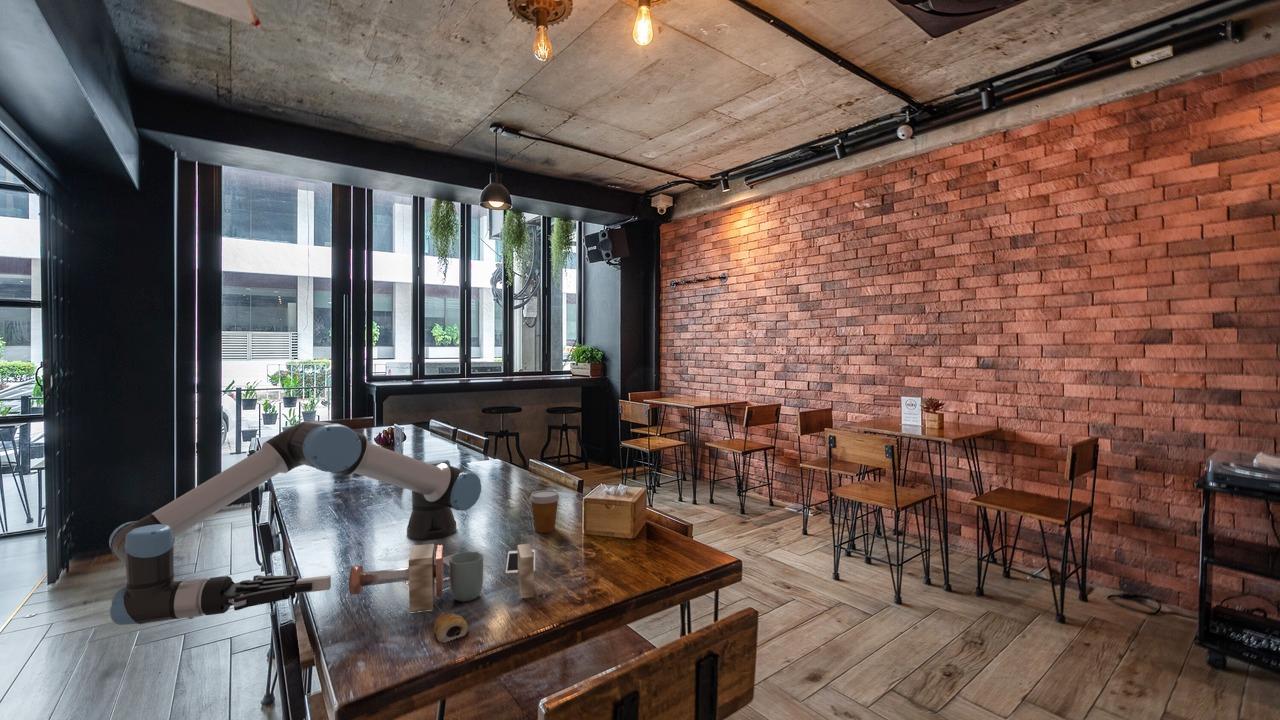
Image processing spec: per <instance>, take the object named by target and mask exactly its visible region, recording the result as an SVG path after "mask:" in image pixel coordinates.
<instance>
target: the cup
mask: <svg viewBox="0 0 1280 720" xmlns="http://www.w3.org/2000/svg"><path fill="white" fill-rule="evenodd" d="M454 554H455V555H453V554H452V555H453V556H451V557H450V560H449V567H448V568H449V569H448V570H449V573H448V574H449V577H450V580H449V586H450V591H451V594H452V597H453V599H455V600H456V601H458V602H461V603H464V602H465V603H467V602H471V601H473V600H475V599H477V598H478V597H480V595H481V593H482V589H483V584H484V557H483V554H482V553H481V552H479V551H474V550H469V551H462V552H458V553H454Z"/></svg>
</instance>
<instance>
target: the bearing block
mask: <svg viewBox="0 0 1280 720" xmlns="http://www.w3.org/2000/svg"><path fill="white" fill-rule="evenodd" d="M434 560H435V543H428V544H427V543H426V544H418V545H412V546H411V549H410V552H409V557H408V567H409V585H408V593H409V594H408V597H409V606H408V607H409V613H410V612H418V611H426V610H432V609H433V610H434V607H433V605H434V604H435V598H436V597H435V595H436V584H435V581H436V578H433V564H435V563H434ZM434 597H435V598H434Z"/></svg>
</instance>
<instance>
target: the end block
mask: <svg viewBox="0 0 1280 720" xmlns="http://www.w3.org/2000/svg"><path fill="white" fill-rule="evenodd" d="M532 550H533V549H532V547H531V544H530V543H524V544H523V543H522V544H517V551H518V573H517V586H518V589H519V590H518V591H519V594H520V599H521V600H522V598H524V599H529V598H534V597H535V579H534V578H535V574H534V573H535V572H534V556H533V553H532Z"/></svg>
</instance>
